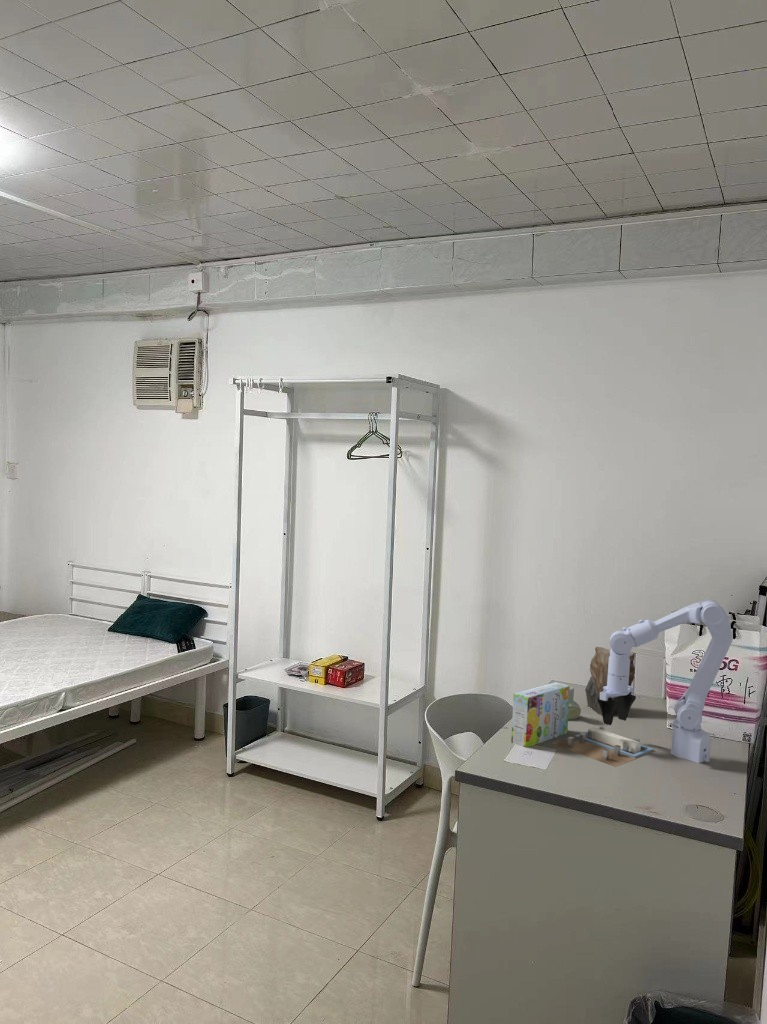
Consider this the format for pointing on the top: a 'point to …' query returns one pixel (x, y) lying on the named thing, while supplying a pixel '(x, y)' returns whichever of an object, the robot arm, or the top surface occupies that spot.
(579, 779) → the top surface
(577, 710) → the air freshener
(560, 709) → the snack box
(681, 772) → the top surface
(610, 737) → the white rectangular bar
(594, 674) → the brown rock
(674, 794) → the top surface
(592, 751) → the board
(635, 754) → the blue bezel
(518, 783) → the top surface
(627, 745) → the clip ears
